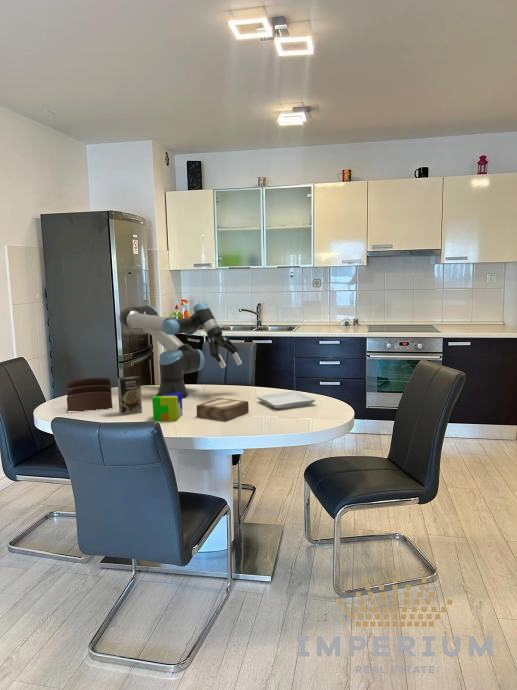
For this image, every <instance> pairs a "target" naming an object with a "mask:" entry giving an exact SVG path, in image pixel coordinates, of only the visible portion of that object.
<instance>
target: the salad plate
mask: <svg viewBox="0 0 517 690" xmlns="http://www.w3.org/2000/svg"><path fill="white" fill-rule="evenodd" d="M256 398H257V399H258V400H259V401H260V402H261V403H264V404H266V405H268V406H270V407H272V408H274V409H277V410H278V409H279V410H281V409H282V410H283V409H290V408H296V407H297V406H298V407H304V406H308V405H311V404H313V403H314V402H316V399H315V398H314V397H311V396H308V395H307V394H303V393H301V392H298V391H295V390H293V391H284V392H276V393H271V394H264V395H256ZM298 407H297V408H298Z"/></svg>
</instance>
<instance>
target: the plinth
mask: <svg viewBox="0 0 517 690" xmlns="http://www.w3.org/2000/svg"><path fill="white" fill-rule="evenodd" d="M248 412H249V413H250V410H249V401H246V400H240V399H232V398H222V397H217V398H214V399H211V400H208V401H206V402H202V403H200V404H197V405H196V418H203V419H210V420H216V421H222V422H223V421H225V422H228V420H229V421H231V420H233V418H234V419H236V418H239V417H241V416H244V415H246V413H247V414H249V413H248ZM243 414H244V415H243ZM238 416H239V417H238Z"/></svg>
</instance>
